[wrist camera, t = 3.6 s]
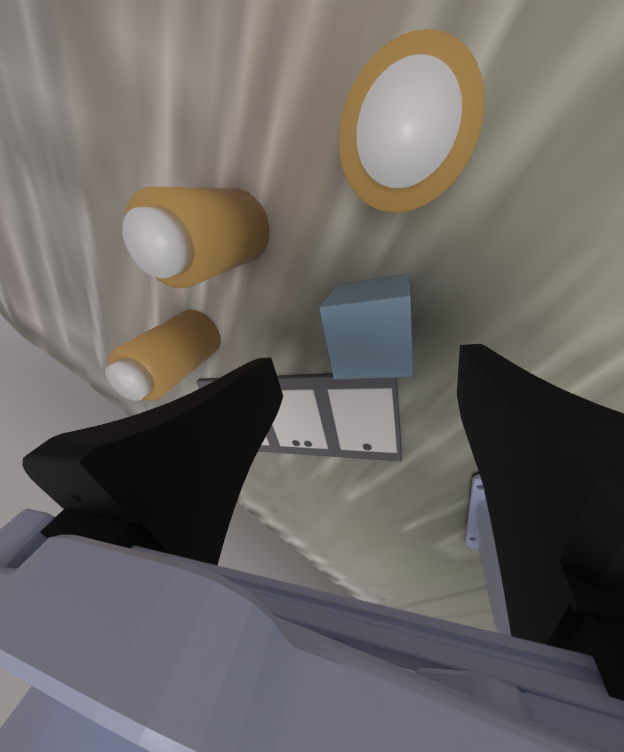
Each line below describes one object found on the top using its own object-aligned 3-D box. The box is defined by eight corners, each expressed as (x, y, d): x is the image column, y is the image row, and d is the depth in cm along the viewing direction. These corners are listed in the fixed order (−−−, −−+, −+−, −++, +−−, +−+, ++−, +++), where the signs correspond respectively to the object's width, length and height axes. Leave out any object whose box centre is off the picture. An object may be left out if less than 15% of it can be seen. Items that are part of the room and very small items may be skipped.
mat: (401, 457, 22) (401, 462, 21) (232, 446, 27) (229, 450, 27) (395, 371, 18) (395, 376, 17) (199, 378, 23) (195, 382, 23)
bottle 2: (227, 353, 21) (164, 409, 15) (190, 355, 22) (119, 408, 17) (208, 307, 19) (130, 352, 14) (169, 313, 20) (83, 356, 15)
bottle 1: (276, 254, 16) (209, 286, 10) (224, 265, 17) (140, 298, 12) (257, 180, 14) (165, 172, 9) (201, 198, 15) (89, 201, 10)
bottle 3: (448, 194, 12) (484, 195, 7) (368, 213, 14) (344, 227, 8) (452, 85, 11) (503, -29, 5) (359, 118, 12) (321, 54, 6)
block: (411, 341, 17) (413, 376, 13) (346, 346, 18) (333, 379, 15) (409, 273, 15) (410, 295, 11) (336, 284, 16) (319, 307, 13)
